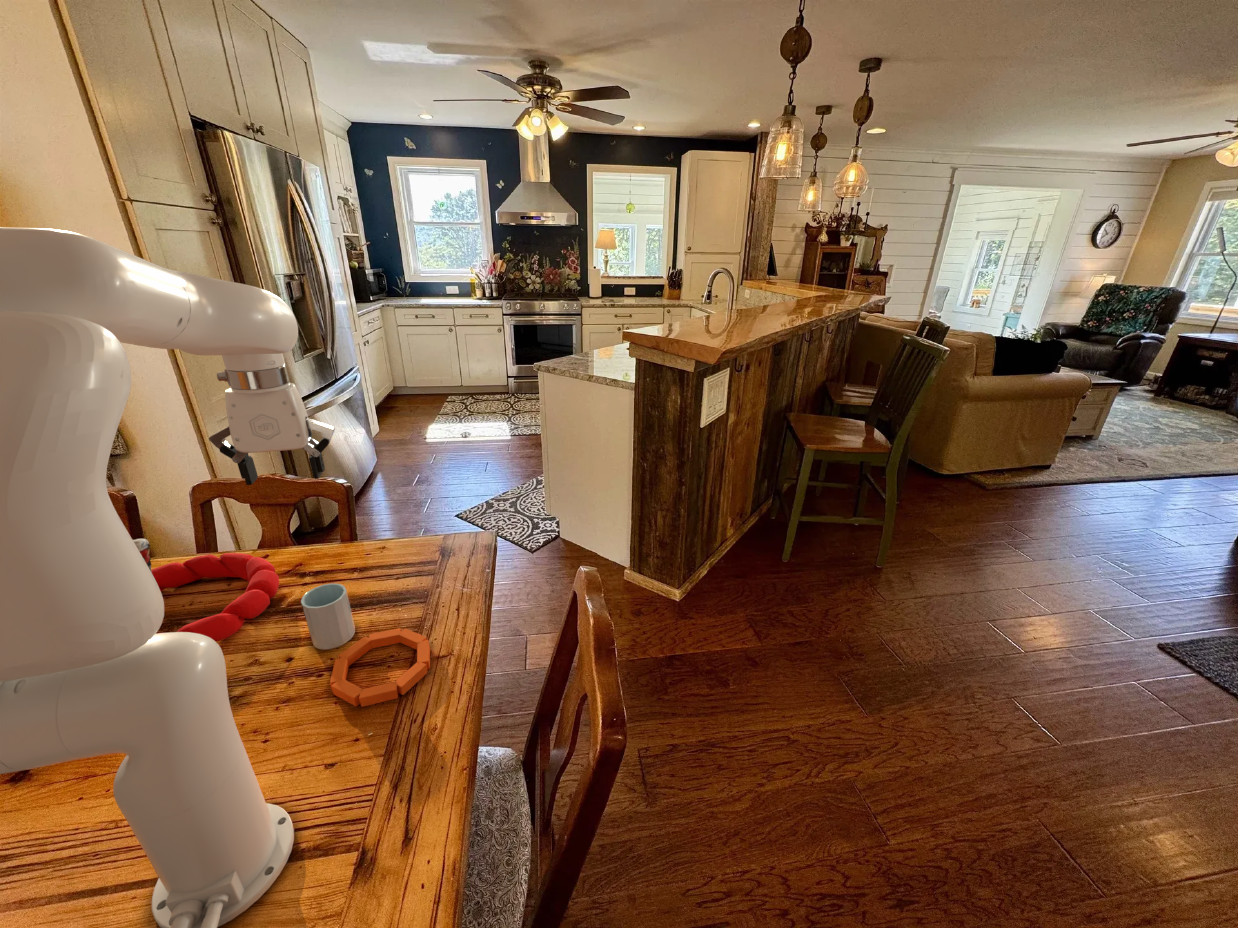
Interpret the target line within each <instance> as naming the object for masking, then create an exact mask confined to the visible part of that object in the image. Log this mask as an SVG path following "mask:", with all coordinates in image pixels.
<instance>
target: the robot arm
mask: <svg viewBox="0 0 1238 928" xmlns="http://www.w3.org/2000/svg"><path fill="white" fill-rule="evenodd" d="M298 337H299V326H298V321H297V319H296V316H295V314H294V312H293V310H292V309H291V307H290V306H289V305H288V304H287V303H286V302H285V301H284V300H283V299H281V298H280V297H279V296H278V295H276V294H275V293H272V292H270V291H268V290H266V289H263V288H261V287H258V286H253V285H250V284H245V283H240V282H235V281H229V280H224V279H218V278H214V277H211V276H210V277H209V276H206V275H202V274H198V273H197V274H196V273H192V272H186V271H181V270H176V269H175V270H174V269H170V268H166V267H164V266H161V265H159V264H156V263H154V262H152V261H151V262H150V261H149V260H146V259H144V258H142V257H139V256H137V255H135V254H133V253H130V252H127V251H126V250H123V249H122V248H118V247H117V246H113V245H112V244H108V243H106V242H104V241H101V240H100V239H96V238H94V237H91V236H88V235H84V234H81V233H77V232H73V231H68V230H63V229H62V230H61V229H54V228H40V227H5V226H4V227H3V226H0V775H4V774H10V773H17V772H21V771H26V770H27V771H28V770H32V769H38V768H42V767H47V766H52V765H58V764H63V763H67V762H72V761H77V760H82V759H89V758H95V757H100V756H105V755H112V754H124V755H125V757H124V758H123V760H122V762H121V763H120V764H119V767H118V769H117V771H116V774H115V776H114V780H113V787H112V792H113V798H114V801H115V803H116V805H117V807H118V808H119V810H120V812H121V814H122V815H123V817H124V818H125V821H126V823H127V825H128V826H129V828H130V829H131V831H132V832H133V835H134V837H135V838H136V840H137V842H138V843H139V845H140V847H141V849H142V850H143V852H144V855H145V856H146V858H147V859H148V861H149V862H150V864H151V866H152V868H153V870H154V871H155V873H156V875H157V877H158V878H157V881H156V883H155V886H154V888H153V893H152V896H151V912H152V916H153V918H154V920H155V922H156V923H157V925H158V927H159V928H219V927H221V926H223V925H224V924H226V923H229V922H231V921H233V920H234V919H235V918H236V917H238V916H239V915H241V914H243V913H245V911H246V910H248V909H249V908H250V907H251V906H252V905H254V904H255V903H256V902H257V901H258V900H259V899H260V898H262V896H263V895H264V894H265V893H266V892H267V891H268V890H269V889H270V888H271V886H272V885H273V883H275V881H276V880H277V878H278V877H279V876H280V874H281V873H282V871H283V869H284V868H285V866H286V864H287V863H288V860H289V857H290V855H291V853H292V850H293V846H294V841H295V828H294V825H293V821H292V819H291V817H290V814H289V813H288V812H287V811H286V810H285V809H284V808H283V807H281V806H280V805H277V804H273V803H268V802H266V799H265V797H264V794H263V792H262V788H261V787H260V784H259V781H258V778H257V776H256V773H255V771H254V768H253V766H252V763H251V760H250V758H249V756H248V753H247V750H246V748H245V745H244V743H243V741H242V738H241V735H240V733H239V729H238V727H237V724H236V721H235V719H234V715H233V711H232V708H231V703H230V696H229V691H228V679H227V678H228V677H227V665H226V660H225V656H224V653H223V650H222V648H221V646H220V644H219V643H218V642H217V641H216V642H215V641H214V640H213V639H211V638H209V637H207V636H205V635H202V634H197V633H190V632H177V631H173V632H172V631H171V632H169V631H168V632H165V633H164V632H158V631H159V630H160V628H161V626H162V624H163V620H164V618H165V600H164V597H163V593H162V592H161V591H160V589H159V587H158V584H157V582H156V580H155V578H154V576H153V574H152V573H151V571H150V569H149V567H148V566H147V564H146V562H145V560H144V559H143V557H142V555H141V554H140V552H139V550H138V548H137V547H136V545H135V543H134V542H133V540H134V539H133V538H132V537H131V535H130V533H129V531H128V530H127V528H126V526H125V524H124V523H123V521H122V519H121V517H120V516H119V514H118V512H117V510H116V508H115V506H114V505H113V502H112V500H111V498H110V497H111V496H110V495H109V493H108V491H109V490H108V485H107V473H108V465H109V460H110V456H111V451H112V449H113V445H114V442H115V437H116V435H117V431H118V429H119V425H120V423H121V420H122V417H123V414H124V411H125V408H126V405H127V403H128V400H129V397H130V394H131V388H132V372H131V371H132V370H131V364H130V361H129V358H128V355H127V352H126V350H125V348H124V346H123V345H122V344H129V345H134V346H138V347H146V348H151V349H161V350H180V351H181V352H184V353H186V354H189V355H195V356H209V357H210V356H221V357H222V361H223V364H224V367H225V369H224V370H223V371H218V372H216V378H217V380H218V381H219V382H225V383H227V384H228V387H229V388H227V389H225V390H224V394H225V395H224V397H225V399H224V400H225V409H226V416H227V424H228V426H225V427H224V428H221V429H220V430H218V431H216V432H215V433H213V434H212V435H210V436H209V437H208V440H209V442H210V443H211V444H213V445H214V447H216V449H218V450H219V453H221V454H223V455H224V456H225V457H228V458H229V459H230V460H232V462H233V463H235V464H237V467H238V470H239V474H240V477H241V479H243V480H244V481H245V485H246V486H252V485H253V484H254V483H255V482H256V480H257V479H258V478H259V476H258V472H257V468H256V465H255V461H254V458H253V457H252V455H249V454H253V453H256V454H257V453H268V452H270V453H271V452H280V451H281V452H282V451H283V452H284V451H294V450H301V449H303V450H304V451H305V452H307V454H310V456H309V457H308V461H309V466H310V470H311V474H312V478H313V479H315V480H319V479H320V477H321V476H322V474H323V473H324V472H325V471H326V467H325V461H324V458H323V453H322V452H323V451H325V449H326V448H327V447H328V446H329V444H330V442H331V440H332V438H333V435H334V432H335V427H334V426H332V425H329V424H327V423H325V422H320V421H318V420H315V419H312V418H310V417H309V415H308V412H307V409H306V407H305V403H304V401H303V399H302V396H301V394H300V392H299V390H298V388H297V386H296V384H295V382H290V377H289V374H288V370H287V366H286V361H285V356H284V354H286V353H288V352H290V351H292V350H293V348H294V347H295V346H296V344H297V342H298ZM313 431H315V432H319V433H321V434H322V437H321V439H320V440H319V441H317V440H316V439H314V438H313ZM228 437H230V438H231V440H232V444H231V443H229V442H228V441H227V439H226V438H228ZM157 633H158V634H157Z"/></svg>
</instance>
